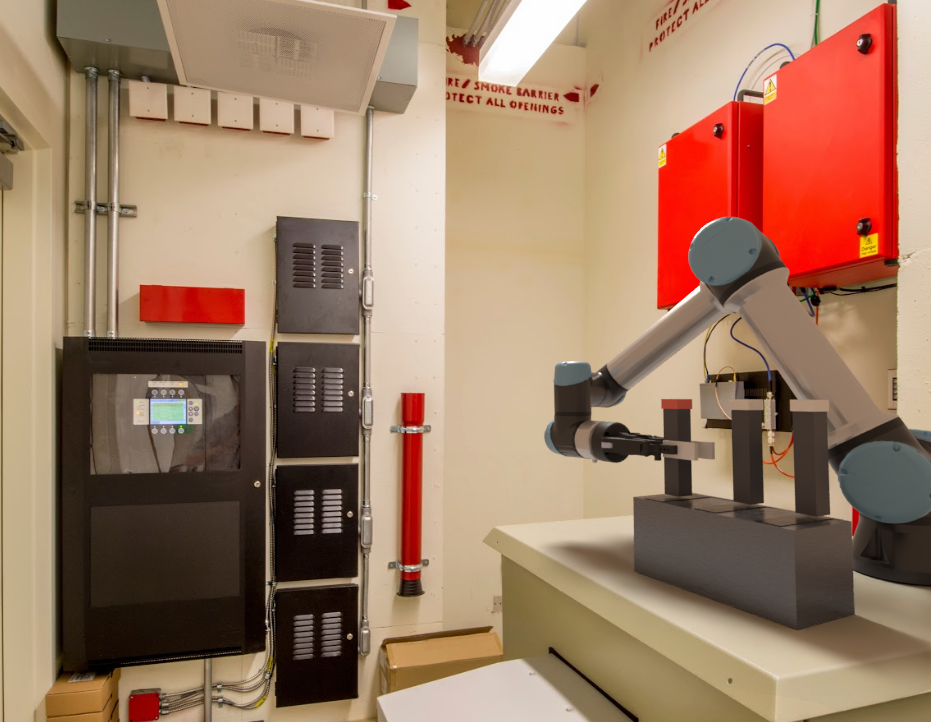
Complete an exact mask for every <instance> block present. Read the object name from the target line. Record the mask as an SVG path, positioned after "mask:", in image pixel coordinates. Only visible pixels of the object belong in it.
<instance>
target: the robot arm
mask: <svg viewBox="0 0 931 722" xmlns="http://www.w3.org/2000/svg"><path fill="white" fill-rule="evenodd" d="M687 253H688V255H687V256H688V264H689V267H690V270H691V272H692V273H693V274H694V276H695V278H697V279H698V280H699V281H700V282H699V285H698V286H697V287H696V288H695V289H694V290H693V291H691V292H690V293H689V294H688V295H686V296H685V297H684V298H683V299H682V300H680V301H679V302H678V303H677V304H676V305H675V306H674V307H672V308H670V310H669V311H667V312H666V313H665V314H664V315H663V316H662V317H660V318H659V319H658V320H657V321H656V322H655V323H653V324H652V325H650V327H648V328H647V329H646V330H645V331H644V332H643V333H641V334H639V336H637V337H636V338H635V339H634V340H633V341H632V342H630V343H629V344H628V345H627V346H626V347H624V348H623V349H622V350H620V351H619V353H618V354H616V355H615V356H613V357H612V358H611V359H610V360H609V361H608V362H607V363H605V364H604V365H603V366H602V367H601V368H599V369H598V370H597V371H596V372H592V367H591V364H590V362H587V361H573V360H572V361H560V362H557V363H556V364H555V366H554V376H553V402H554V403H553V404H554V405H553V407H554V415H553V420H551V421H550V422H549V423H548V424H547V426H546V428H545V431H544V433H543V437H544V438H543V439H544V443H545V445H546V447H547V448H548V449H549V451H551V453H554V454H558V455H561V456H563V457H568V458H569V457H570V458H578V459H585V460H592V463H593V464H596V463H598V461H600V462H607V463H612V464H613V463H615V464H619V463H622V462H623V461H625V460H626V459H628V457H629V456H640V457H641V456H642V457H645V458H648V457H650V456H654V457H653V459H654V461H656V462H657V461H658V462H661V461H662V457H663V458H664V457H668V458H677V459H685V460H691V461H693V462H695V461H699V459H704V460H716V453H715V452H716V448H715V447H716V446H715V445H716V444H715V443H716V442H715V441H705V440H693V439H691V442H682V441H670V440H664V436H657V435H651V434H643V433H642V434H641V433H640V432H631V431H630V429H629V428H628V427H627V426H626V425H625V423H622V422H619V421H605V420H604V421H603V420H592V412H593V411H592V408H605V409H606V408H612V407H615V406H617V405H620V404H621V403H622V402H623V401H624V400H625V398H626V395H627V392H629V390H631V389H632V388H634V387H635V386H636V385H637V384H638V383H640V382H641V381H643V379H645V378H646V377H648V376H650V374H651V373H653V372H654V371H655V370H656V369H658V368H659V367H660V366H662V365H663V364H664V363H666V362H667V361H668V360H669V359H671V358H672V357H674V356H675V355H676V354H677V353H678V352H680V351H681V350H682V349H683V348H685V347H686V346H687V345H689V344H691V342H692V341H694V340H695V339H696V338H698V337H699V336H700V335H701V334H703V333H704V332H706V330H708V329H709V328H710V327H711V326H713V325H714V324H716V323H717V322H718V321H719V320H720V319H722V318H723V317H724V316H726V315H735V314H738V315H739V316H740V317H741V319H742V320H743V322H744V324H745V325H746V326H747V327H748V329H749V330H750V332H751V333H752V335H753V336H754V338H755V339H756V342H758V344H759V345H760V347H761V348H762V349H763V351H764V353H765V354H766V355H767V356H768V358H769V359H770V361H771V363H772V364H773V366H774V367H775V368H776V370H777V371H778V373H779V374H780V375H781V377H782V379H783V380H784V381H785V383H786V384H787V386H788V387H789V389H790V390H791V392H792V393H793V395H794V396H795V397H796V400H829V411H827V431H828V461H829V467H831V469H832V470H833V471H834V473H835V475H836V477H837V482H838V483H839V488H840V491H841V493H842V494H843V497H844V498H845V499H846V501H847V503H849V505H850V506H851V507H852V508H853V509H855V510H856V511H857V512H858V523H857V525H856V528H855V531H854V534H853V535H852V551H853V571H856V572H858V573H862V574H864V575H867V576H871V577H874V578H879V579H882V580H887V581H891V582H892V581H893V582H897V583H904V584H905V583H906V584H912V585H920V586H921V585H922V586H923V585H924V586H931V430H927V429H926V430H925V429H916V428H914V429H913V428H908V426H907V424H906V423H905V422H904V421H903V420H902V418H901V417H900V416H899V415H898V414H896V413H892V412H887V411H883V410H882V409H880V407H878V405H877V404H876V403H875V402H874V400H873V399H872V397H871V396H870V394H869V393H868V392H867V390H866V388H864V386H863V385H862V384H861V382H860V381H859V380H858V378H857V377H856V376H855V374H854V373H853V371H852V370H851V369H850V367H849V366H848V365H847V363H846V362H845V361H844V359H843V358H842V356H841V355H840V354H839V353H838V351H837V350H836V348H835V347H834V345H832V343H831V342H830V340H829V339H828V337H826V335H825V334H824V332H823V331H822V330H821V329H820V327H819V325H818V324H817V323H816V322H815V320H814V319H813V318H812V316H811V315H810V313H809V312H808V311H807V310H806V308H805V307H804V306H803V304H802V303H801V302H800V300H799V299H798V297H797V296H796V295H795V293H794V292H793V291H792V290H791V288H790V287H789V285H788V280H789V276H790V270H789V268H788V267H787V265H786V264H785V263H784V262H783V260H782V258H781V254H780V251H779V248H778V247H777V245H776V243H774V241H773V240H772V239H771V238H769V237H768V236H766V235H765V233H763V232H762V231H761V230H759V229H758V228H757V227H756V225H754V224H753V223H752V222H751V221H748V220H747V219H743V218H740V217H736V216H722V217H720V218H716V219H714V220H712V221H710V222H708V223H706V224H705V225H704V226H703V227H701V228H700V230H699V231H698V232H696V234H695V235H694V237H693V239H692V241H691V242H690V246H689V250H688V252H687Z"/></svg>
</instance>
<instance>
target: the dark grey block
mask: <svg viewBox="0 0 931 722" xmlns="http://www.w3.org/2000/svg"><path fill="white" fill-rule="evenodd" d="M632 498H633V499H632V500H633V563H634V564H633V566H634V567H633V569H634V570H633V571H634V572H636V573H638V574H641V575H644V576H647V577H648V578H649V577H650V578H653V579H654V580H658V581H660V582H663V583H666V584H668V585H671V586H674V587H677V588H679V589H682V590H686V591H688V592H691V593H694V594H697V595H700V596H702V597H705V598H708V599H710V600H713V601H715V602H719V603H721V604H724V605H726V604H727V606H729V605H730V606H729V607H732V608H734V609H735V608H736V609H739V610H740V609H741V611H743V610H744V611H743V612H746V613H749V614H751V613H752V615H755V616H757V617H761V618H763V619H765V620H768V621H770V622H774V623H777V624H780V625H782V626H784V627H788V628H790V629H793V630H796V631H798V630H802V629H805V628H810V627H813V626H816V625H820V624H823V623H827V622H830V621H835V620H837V619H841V618H842V619H843V618H845V617H849V616H852V615H855V612H856V611H855V585H854V581H855V580H854V569H853V551H852V539H853V532H852V531H853V525H852V521H851V520H845V519H844V518H840V517H839V518H838V517H832V516H828V515H825V516H818V517H816V516H810V515H805V514H799V513H795V509H794V510H793V509H788V508H781V507H775V506H772V505H771V506H770V505H764V504H753V505H749V504H744V503H738V502H733V499H730V498H725V497H720V496H714V495H708V494H702V493H696V492H692V496H682V497H677V496H672V495H667V494H665V493H662V494H661V493H659V494H649V495H640V496H633V497H632Z"/></svg>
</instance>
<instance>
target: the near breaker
mask: <svg viewBox="0 0 931 722" xmlns="http://www.w3.org/2000/svg"><path fill="white" fill-rule="evenodd" d="M789 411H790V412H792V436H793V437H792V442H793V444H792V446H793V477H794V480H793V481H794V506H795V507H794V511H795V513H799V514H805V515H810V516H816V517H818V516H830V515H831V497H830V469H829V468H830V464H829V461H828V431H827V411H829V400H798V399H789Z"/></svg>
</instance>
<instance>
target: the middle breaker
mask: <svg viewBox="0 0 931 722" xmlns="http://www.w3.org/2000/svg"><path fill="white" fill-rule="evenodd" d="M728 402H729V403H728V407H729V408H728V410H730V413H731V414H730V415H731V417H730V418H731V452H732V453H731V456H732V457H731V459H732V491H733V493H732V497H733V499H732V500H733V502H738V503H744V504H749V505H753V504H760V505H762V504H765V493H764V491H765V489H764V487H765V486H764V455H763V453H764V452H763V451H764V450H763V447H764V446H763V415H762V414H763V413H762V411H764V410H765V409H764V399H763V398H761V399H758V398H757V399H754V398H753V399H752V398H751V399H749V398H745V399H744V398H742V399H741V398H739V399H737V398H736V399H734V398H733V399H732V398H731V399H730V398H729V399H728Z"/></svg>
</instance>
